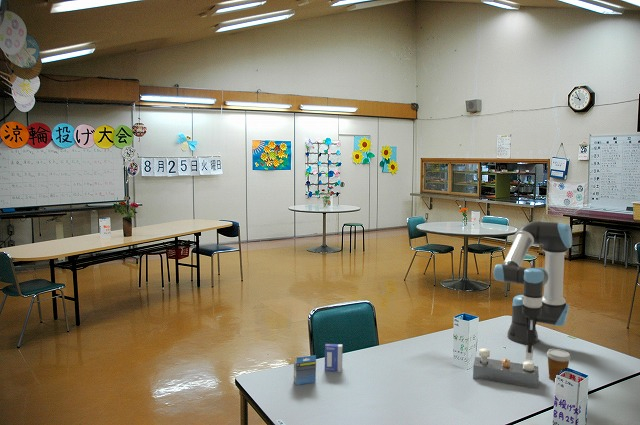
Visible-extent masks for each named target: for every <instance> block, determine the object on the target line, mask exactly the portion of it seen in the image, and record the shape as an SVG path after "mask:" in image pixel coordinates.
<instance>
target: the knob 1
mask: <svg viewBox="0 0 640 425" xmlns="http://www.w3.org/2000/svg"><path fill="white" fill-rule="evenodd" d="M490 354H491V350H490V349H489V348H484V347H483V348H479V349H478V357H481V364H487V359H488V358H490Z"/></svg>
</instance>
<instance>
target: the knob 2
mask: <svg viewBox="0 0 640 425" xmlns="http://www.w3.org/2000/svg"><path fill="white" fill-rule="evenodd" d="M522 364H523V369H524V370H525V371H533V370H534V366H535V363H534V362H532V361H530V360H529V361H528V360H526V361H522Z"/></svg>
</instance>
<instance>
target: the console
mask: <svg viewBox="0 0 640 425" xmlns="http://www.w3.org/2000/svg"><path fill="white" fill-rule="evenodd" d="M472 367H473V369H472V379H473V380H479V381H485V382H492V383H495V384H496V383H497V384H503V385H510V386H514V387H515V386H516V387H520V388H525V389H526V388H527V389H533V390H537V391H538V390H539V378H540V376H539V375H540V374H539V366H538V365H534V370H533V371H525V370H524V369H523V363H519V362H512V361H510V367H503V366H502V360H499V359H493V358H487V364H481V356H475V357H474V362H473V366H472Z"/></svg>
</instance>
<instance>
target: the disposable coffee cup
mask: <svg viewBox="0 0 640 425" xmlns="http://www.w3.org/2000/svg"><path fill="white" fill-rule="evenodd" d="M546 356H547V365H548V378H549V380H551V381H553V382H555V378H556V375H557V374H558V373H559V372H560V371H561V370H563V369H565V368H569V363H570V361H571V358H572V357H571V354H570V352H568V351H566V350H563V349H560V348H559V349H558V348H550V349H548V350H547V352H546Z"/></svg>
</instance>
